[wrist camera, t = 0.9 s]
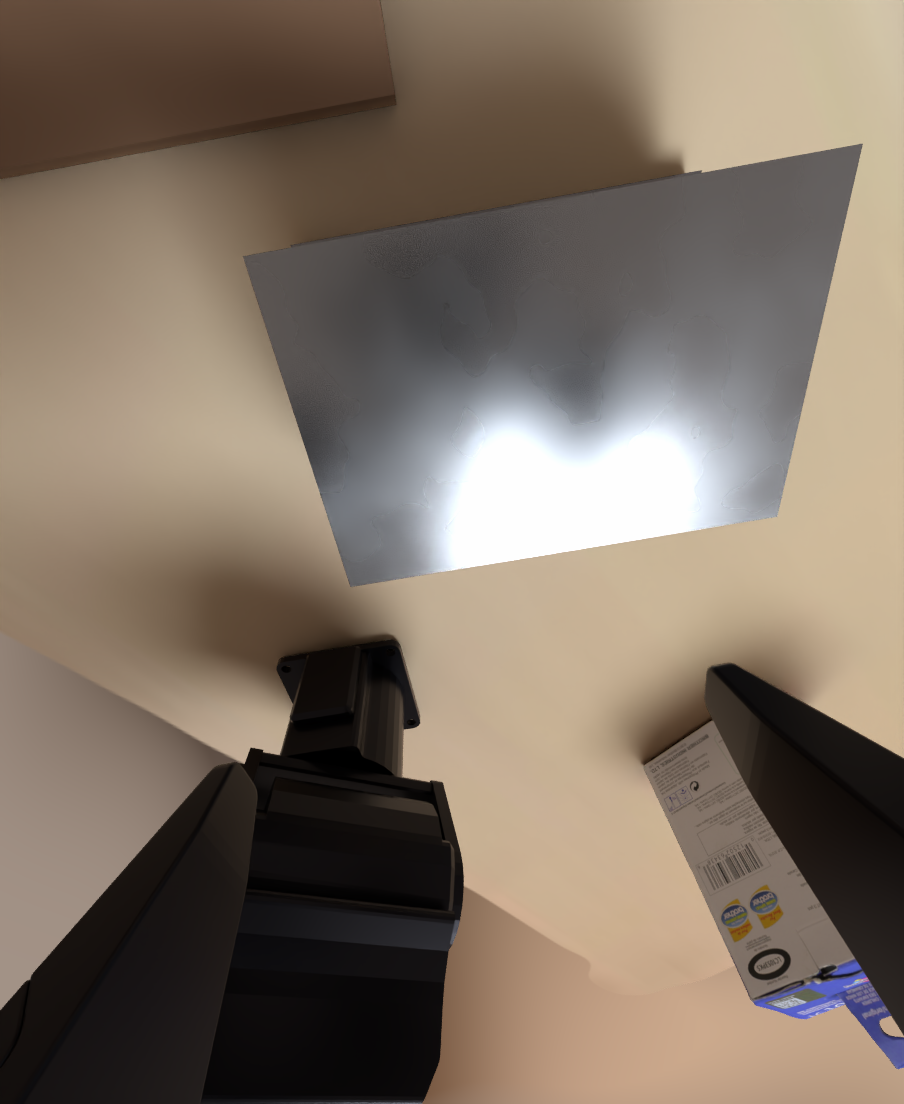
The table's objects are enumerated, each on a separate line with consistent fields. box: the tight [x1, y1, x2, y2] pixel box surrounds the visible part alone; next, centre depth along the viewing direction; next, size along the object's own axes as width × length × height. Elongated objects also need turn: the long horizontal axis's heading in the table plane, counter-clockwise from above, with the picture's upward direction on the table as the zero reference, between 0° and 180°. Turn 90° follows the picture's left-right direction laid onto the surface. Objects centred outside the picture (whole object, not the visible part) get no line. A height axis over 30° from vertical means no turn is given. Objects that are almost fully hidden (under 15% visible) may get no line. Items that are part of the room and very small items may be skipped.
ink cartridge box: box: [644, 720, 904, 1069], centre depth 25 cm, size 10×6×14 cm, turn 141°
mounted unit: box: [243, 144, 863, 587], centre depth 15 cm, size 9×13×8 cm
